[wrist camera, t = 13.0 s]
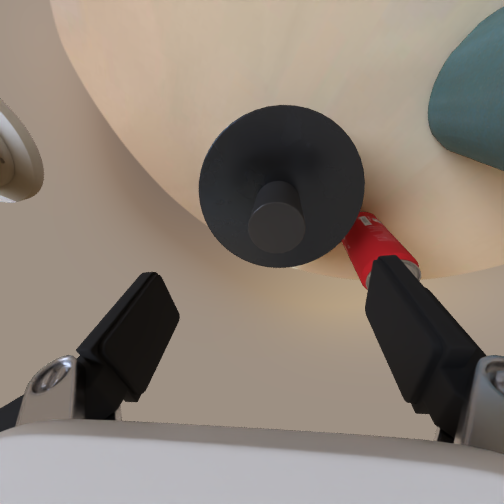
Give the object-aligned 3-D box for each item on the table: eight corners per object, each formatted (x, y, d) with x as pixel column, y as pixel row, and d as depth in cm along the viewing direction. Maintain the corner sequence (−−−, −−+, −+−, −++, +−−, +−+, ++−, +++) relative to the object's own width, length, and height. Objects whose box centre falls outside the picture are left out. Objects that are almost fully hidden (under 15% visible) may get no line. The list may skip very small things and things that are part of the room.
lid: (189, 232, 24) (160, 268, 18) (228, 70, 16) (198, 46, 10) (308, 278, 25) (316, 325, 20) (399, 151, 17) (455, 168, 12)
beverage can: (382, 230, 30) (432, 286, 20) (347, 247, 32) (376, 307, 22) (366, 201, 28) (412, 248, 18) (330, 222, 31) (354, 274, 21)
